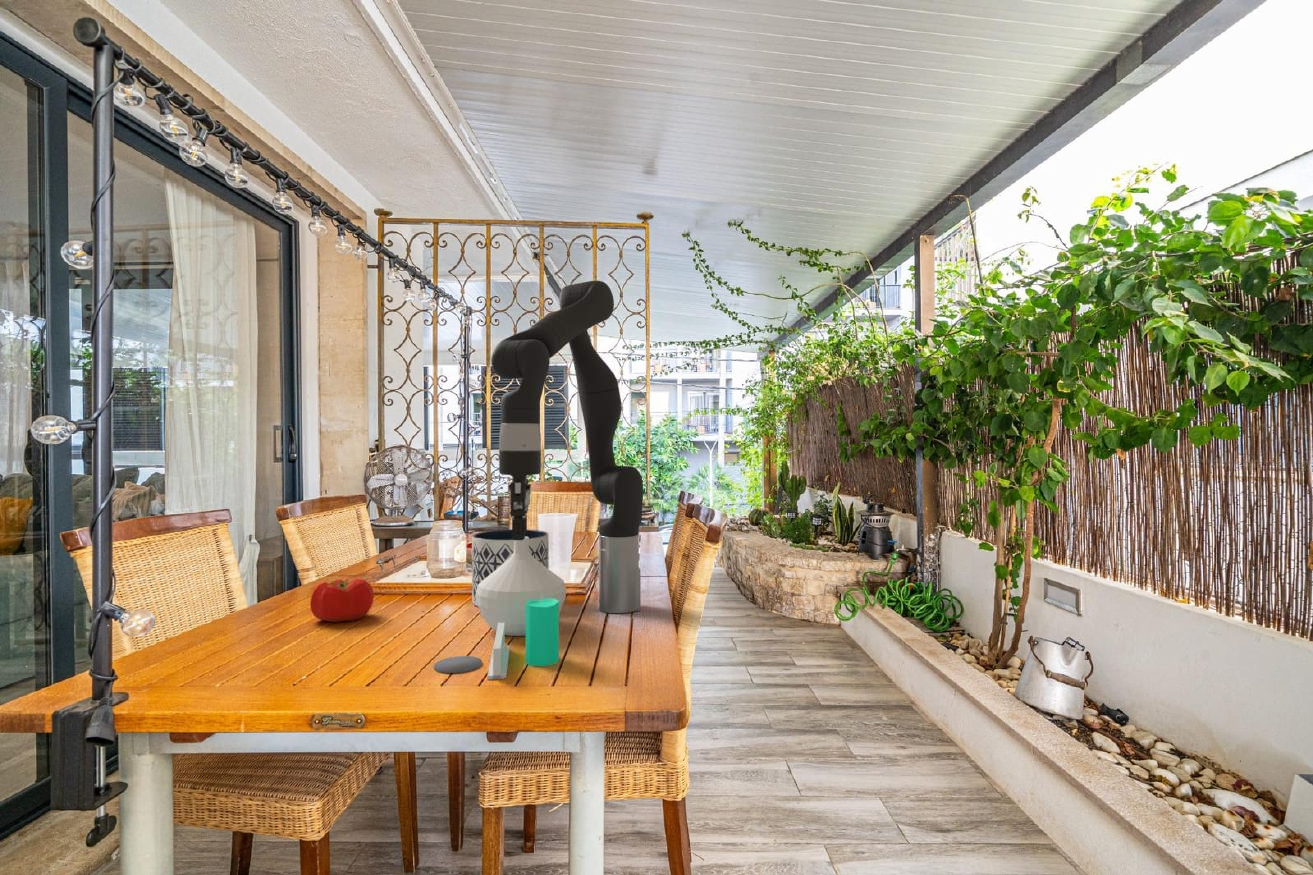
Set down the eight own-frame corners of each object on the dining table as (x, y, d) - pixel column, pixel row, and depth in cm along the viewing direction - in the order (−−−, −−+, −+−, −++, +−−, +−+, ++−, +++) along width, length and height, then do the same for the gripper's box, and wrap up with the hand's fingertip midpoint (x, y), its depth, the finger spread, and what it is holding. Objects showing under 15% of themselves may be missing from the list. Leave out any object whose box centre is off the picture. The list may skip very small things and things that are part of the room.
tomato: (377, 610, 157) (377, 573, 157) (369, 624, 145) (369, 584, 145) (317, 614, 154) (316, 576, 154) (304, 628, 142) (304, 588, 142)
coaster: (483, 657, 123) (483, 654, 123) (480, 672, 115) (480, 669, 115) (437, 659, 122) (437, 657, 122) (430, 675, 114) (430, 672, 114)
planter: (513, 590, 178) (513, 527, 178) (564, 599, 167) (564, 533, 167) (456, 604, 163) (456, 535, 163) (507, 615, 152) (507, 542, 152)
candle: (562, 655, 124) (562, 590, 124) (554, 666, 118) (554, 597, 118) (530, 655, 124) (530, 589, 124) (521, 665, 118) (520, 597, 118)
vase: (457, 637, 135) (457, 541, 135) (507, 614, 153) (507, 529, 153) (537, 646, 129) (537, 546, 129) (581, 622, 146) (580, 533, 146)
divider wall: (509, 648, 128) (509, 622, 128) (506, 678, 112) (506, 648, 112) (493, 649, 127) (493, 623, 127) (487, 679, 111) (487, 649, 111)
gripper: (539, 449, 118) (539, 542, 118) (541, 448, 132) (541, 531, 132) (495, 448, 117) (495, 542, 117) (502, 448, 131) (501, 532, 131)
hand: (519, 536), depth 125 cm, fingers open, 8 cm apart
